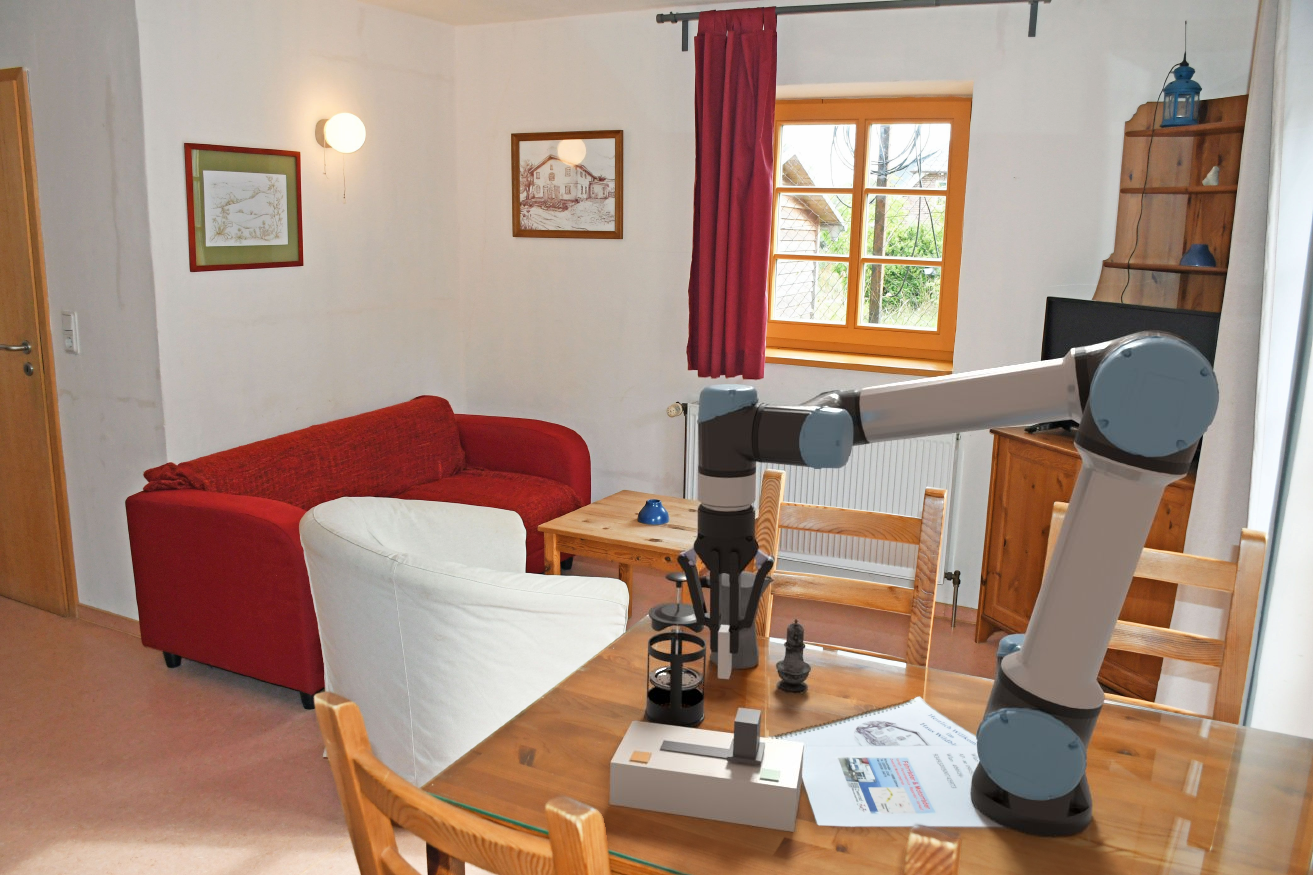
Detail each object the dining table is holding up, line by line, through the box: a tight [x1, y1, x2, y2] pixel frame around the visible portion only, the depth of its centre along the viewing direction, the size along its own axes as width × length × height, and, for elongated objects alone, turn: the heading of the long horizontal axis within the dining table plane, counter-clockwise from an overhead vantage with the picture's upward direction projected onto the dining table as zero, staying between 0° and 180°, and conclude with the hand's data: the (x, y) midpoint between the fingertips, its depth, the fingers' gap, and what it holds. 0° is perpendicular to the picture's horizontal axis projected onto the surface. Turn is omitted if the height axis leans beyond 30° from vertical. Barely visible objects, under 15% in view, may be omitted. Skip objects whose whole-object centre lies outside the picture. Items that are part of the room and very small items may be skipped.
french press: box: [644, 571, 707, 728], centre depth 154 cm, size 12×9×23 cm
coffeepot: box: [699, 570, 775, 670], centre depth 176 cm, size 15×9×18 cm, turn 104°
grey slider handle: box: [727, 707, 765, 765], centre depth 131 cm, size 4×5×5 cm
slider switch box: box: [609, 720, 805, 833], centre depth 133 cm, size 24×12×6 cm, turn 77°
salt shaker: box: [775, 618, 812, 695], centre depth 166 cm, size 6×6×12 cm
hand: (724, 674), depth 134 cm, fingers closed
